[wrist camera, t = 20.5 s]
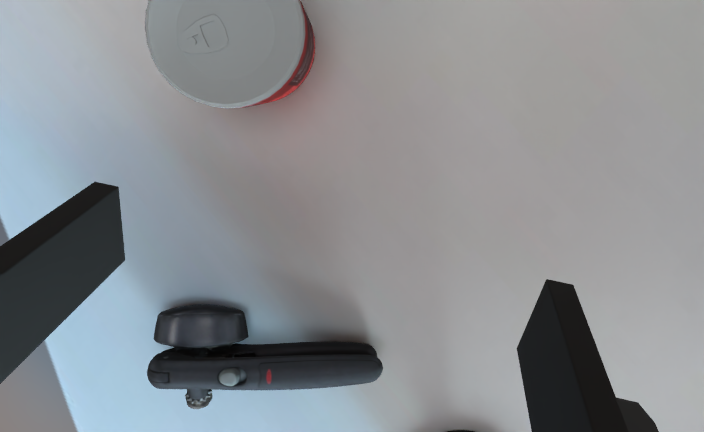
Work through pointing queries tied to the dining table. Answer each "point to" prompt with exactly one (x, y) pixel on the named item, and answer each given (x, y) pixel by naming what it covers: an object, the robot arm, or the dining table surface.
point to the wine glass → (461, 431)
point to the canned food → (231, 48)
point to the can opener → (247, 357)
